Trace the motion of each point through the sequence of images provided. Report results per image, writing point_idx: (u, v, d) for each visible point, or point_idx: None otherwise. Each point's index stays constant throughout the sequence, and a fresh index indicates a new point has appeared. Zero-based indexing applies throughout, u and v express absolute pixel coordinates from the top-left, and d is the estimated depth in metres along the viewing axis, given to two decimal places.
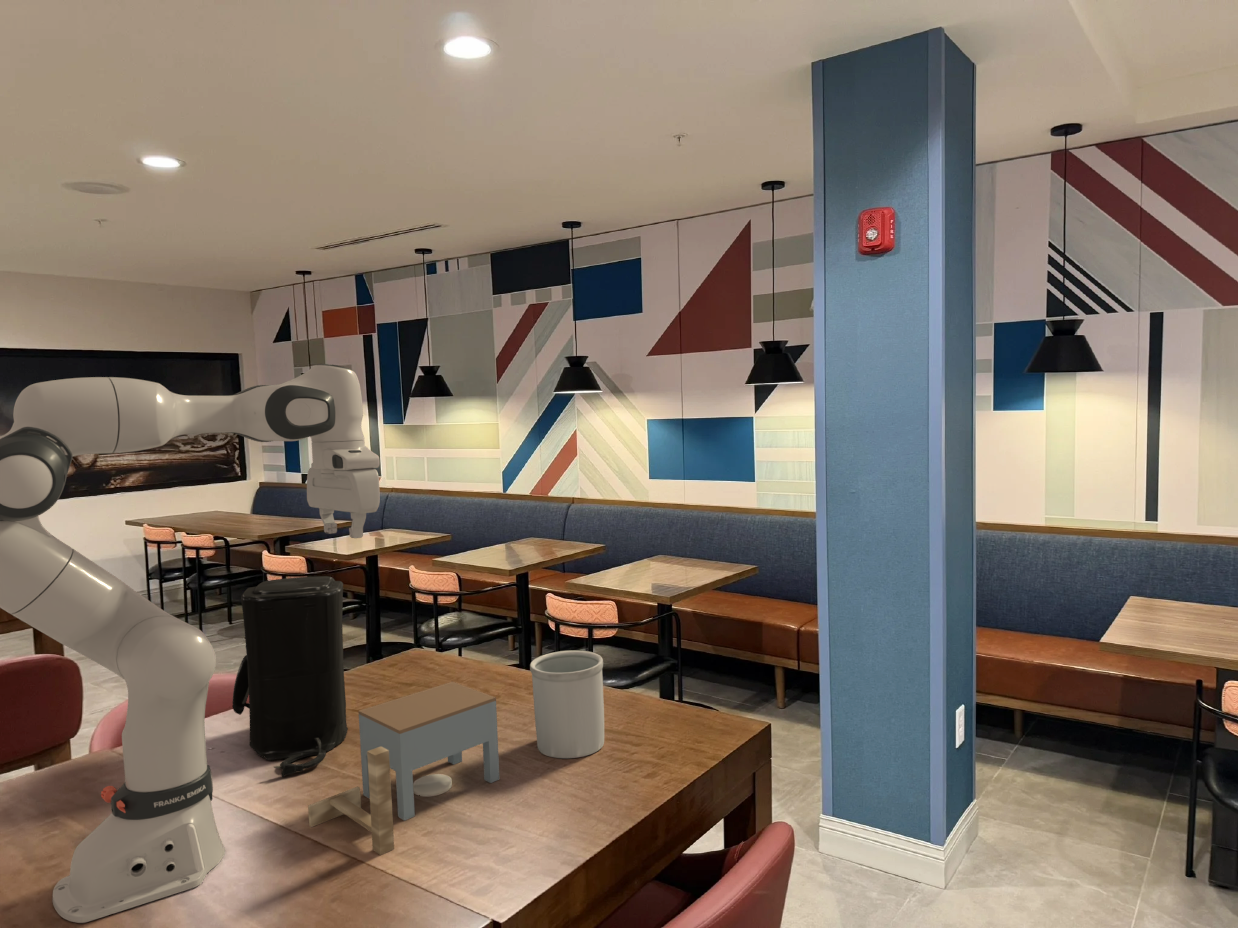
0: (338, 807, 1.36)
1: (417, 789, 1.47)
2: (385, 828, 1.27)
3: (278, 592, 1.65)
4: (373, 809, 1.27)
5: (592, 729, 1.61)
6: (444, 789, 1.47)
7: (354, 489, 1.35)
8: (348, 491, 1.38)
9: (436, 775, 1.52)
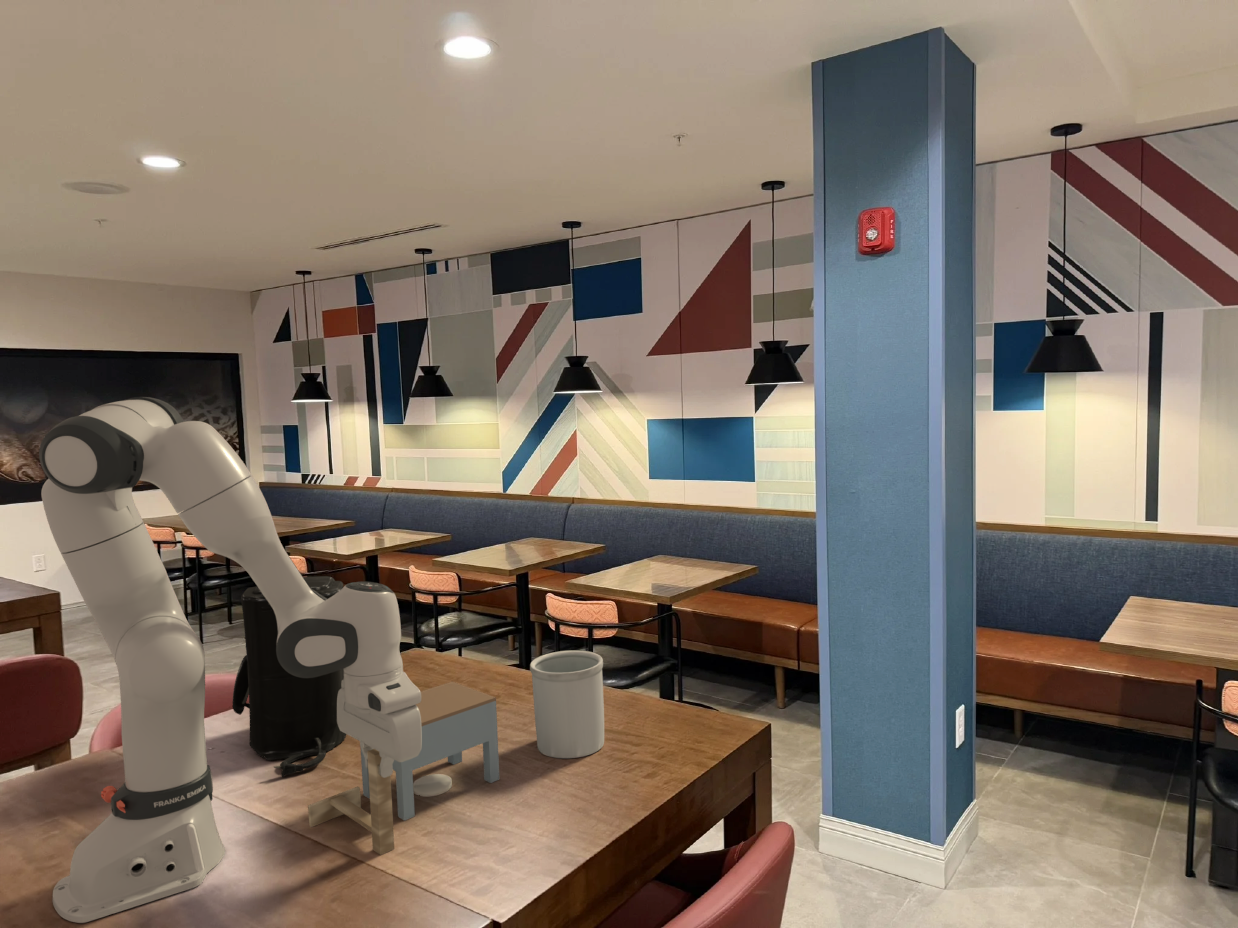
0: (338, 807, 1.36)
1: (417, 789, 1.47)
2: (385, 828, 1.27)
3: None
4: (373, 809, 1.27)
5: (592, 729, 1.61)
6: (444, 788, 1.47)
7: (394, 736, 1.19)
8: (386, 734, 1.21)
9: (436, 775, 1.52)
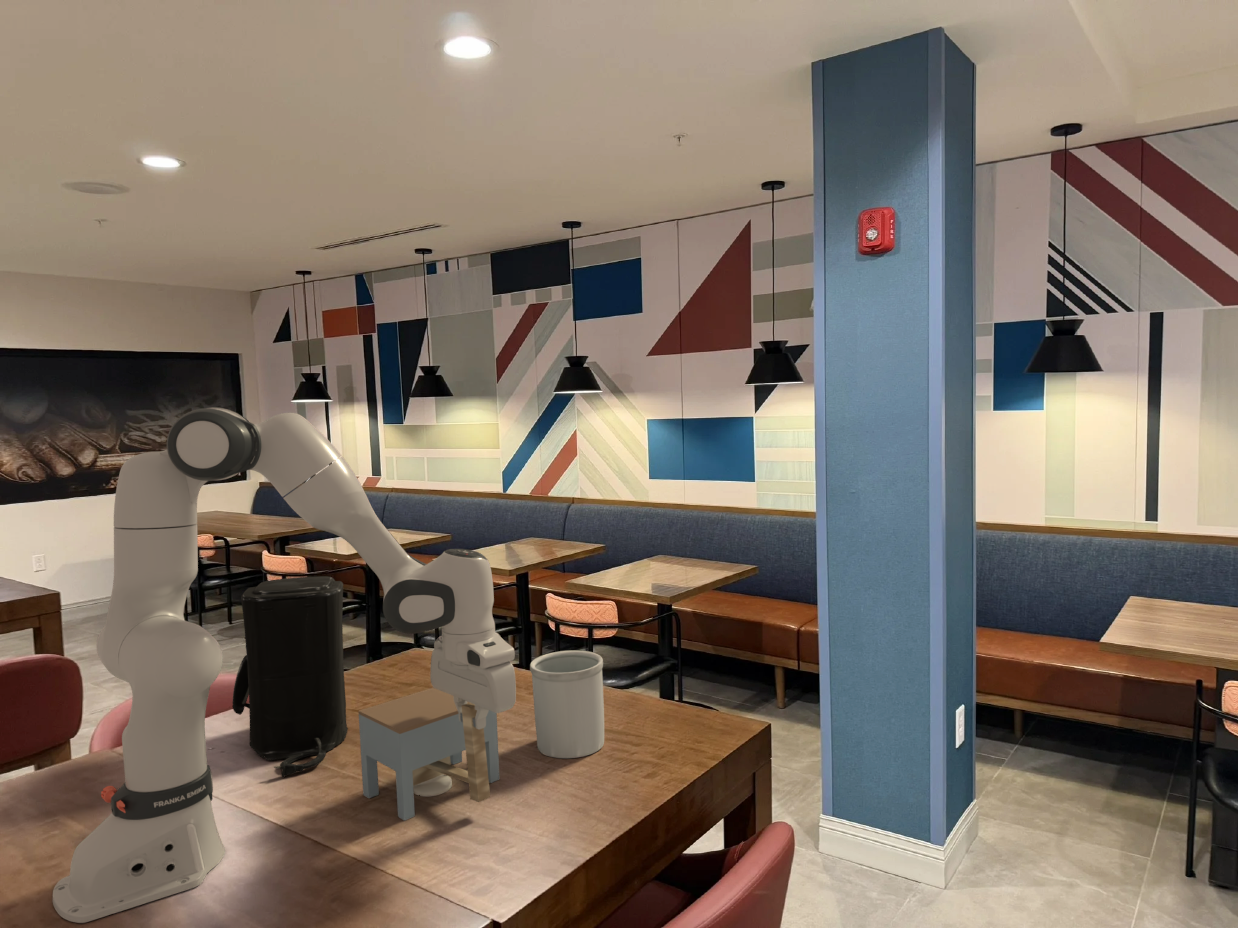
0: (433, 767, 1.47)
1: (417, 789, 1.47)
2: (481, 776, 1.37)
3: (278, 592, 1.65)
4: (469, 759, 1.38)
5: (592, 729, 1.61)
6: (444, 788, 1.47)
7: (492, 689, 1.30)
8: (483, 687, 1.32)
9: None
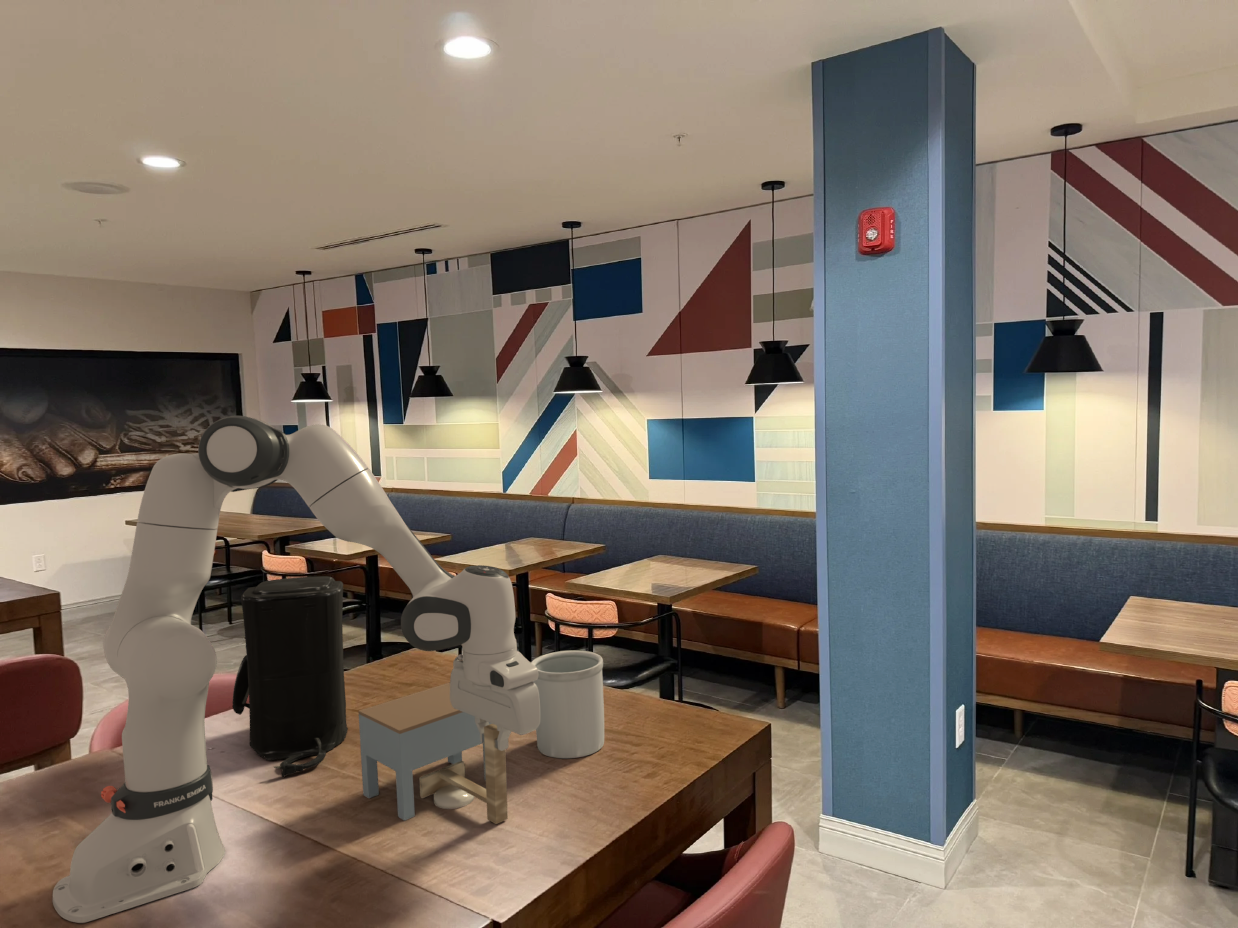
0: (448, 779, 1.44)
1: (439, 800, 1.42)
2: (500, 798, 1.35)
3: (278, 592, 1.65)
4: (489, 781, 1.35)
5: (592, 729, 1.61)
6: (467, 799, 1.42)
7: (516, 710, 1.26)
8: (507, 708, 1.29)
9: None
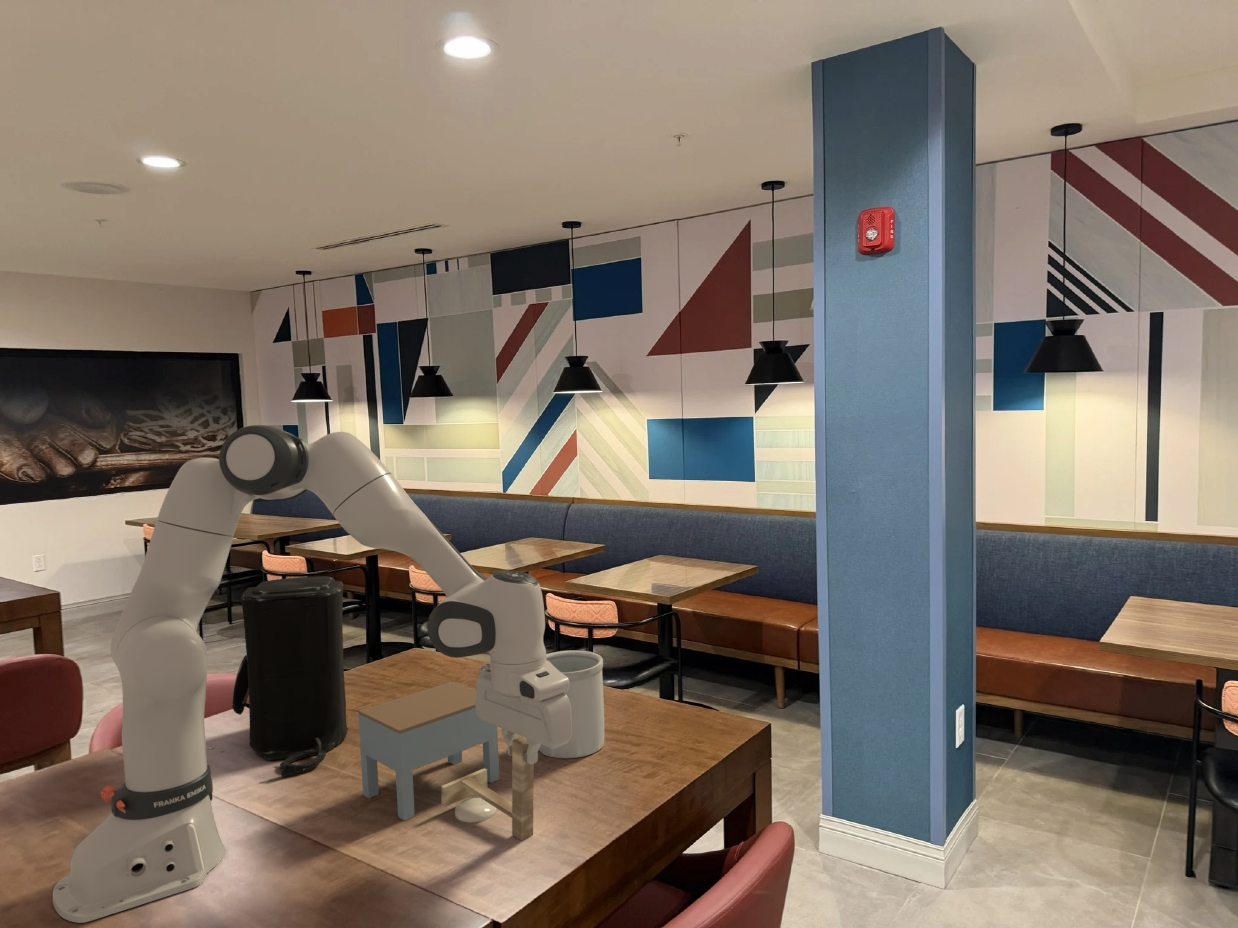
0: (471, 789, 1.39)
1: (460, 814, 1.37)
2: (527, 814, 1.30)
3: (278, 592, 1.65)
4: (515, 796, 1.30)
5: (592, 729, 1.61)
6: (488, 814, 1.37)
7: (547, 723, 1.21)
8: (537, 721, 1.23)
9: (480, 799, 1.42)
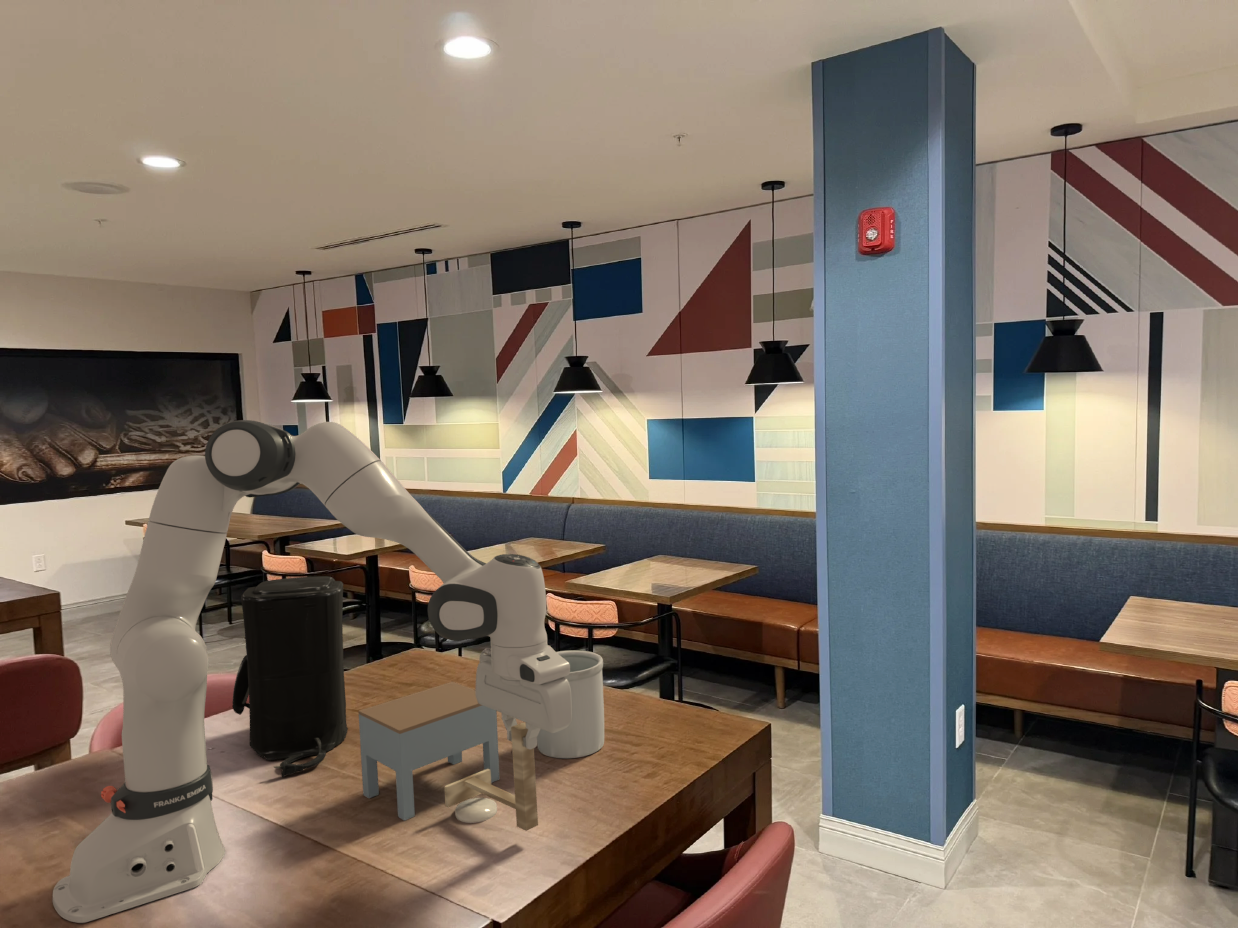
0: (474, 787, 1.37)
1: (460, 814, 1.37)
2: (530, 803, 1.28)
3: (278, 592, 1.65)
4: (517, 785, 1.28)
5: (592, 729, 1.61)
6: (489, 815, 1.37)
7: (547, 706, 1.20)
8: (537, 705, 1.22)
9: (480, 799, 1.42)
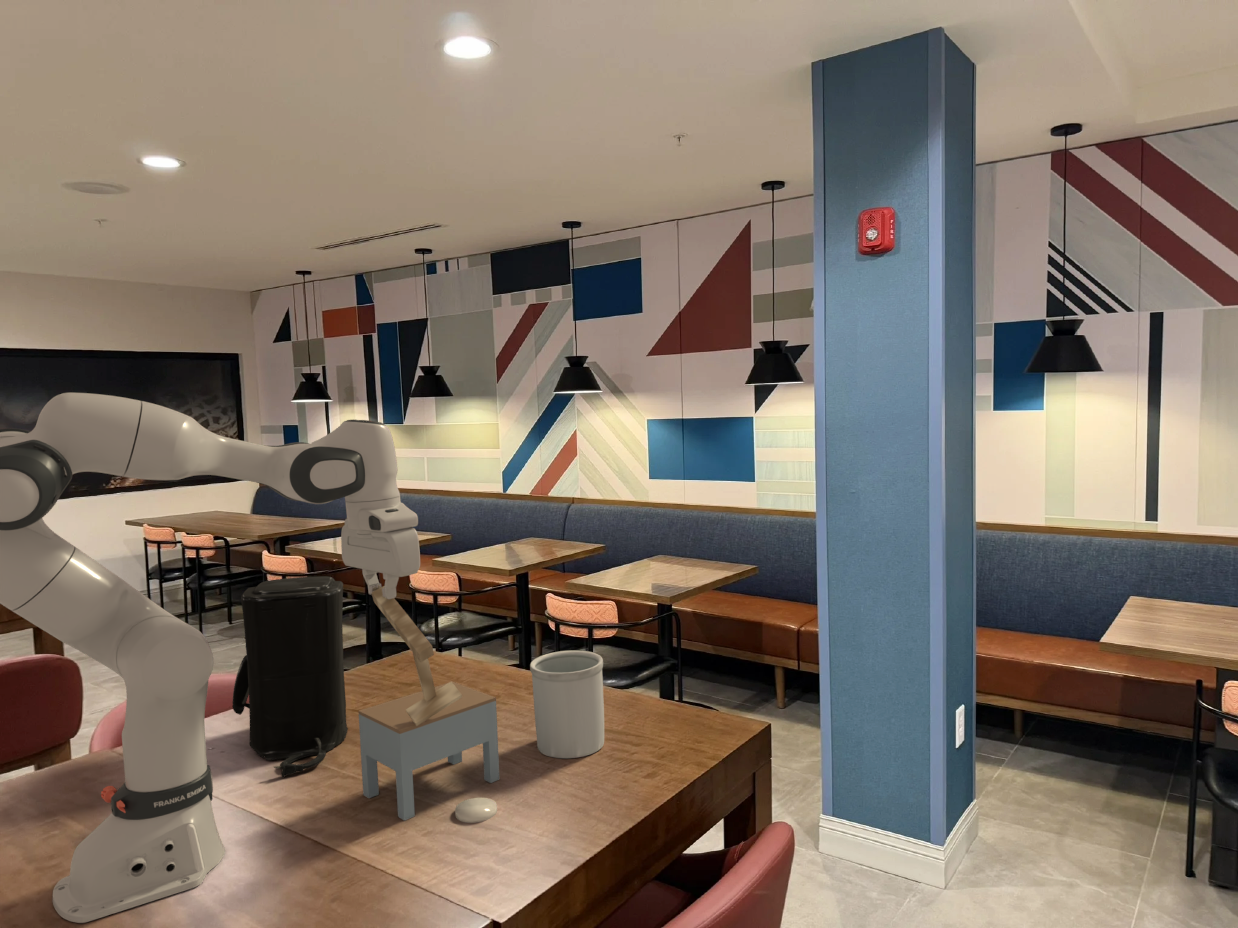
0: (422, 690, 1.39)
1: (461, 814, 1.37)
2: (412, 634, 1.31)
3: (278, 592, 1.65)
4: (399, 632, 1.33)
5: (592, 729, 1.61)
6: (490, 814, 1.37)
7: (394, 552, 1.29)
8: (387, 553, 1.31)
9: (479, 799, 1.42)
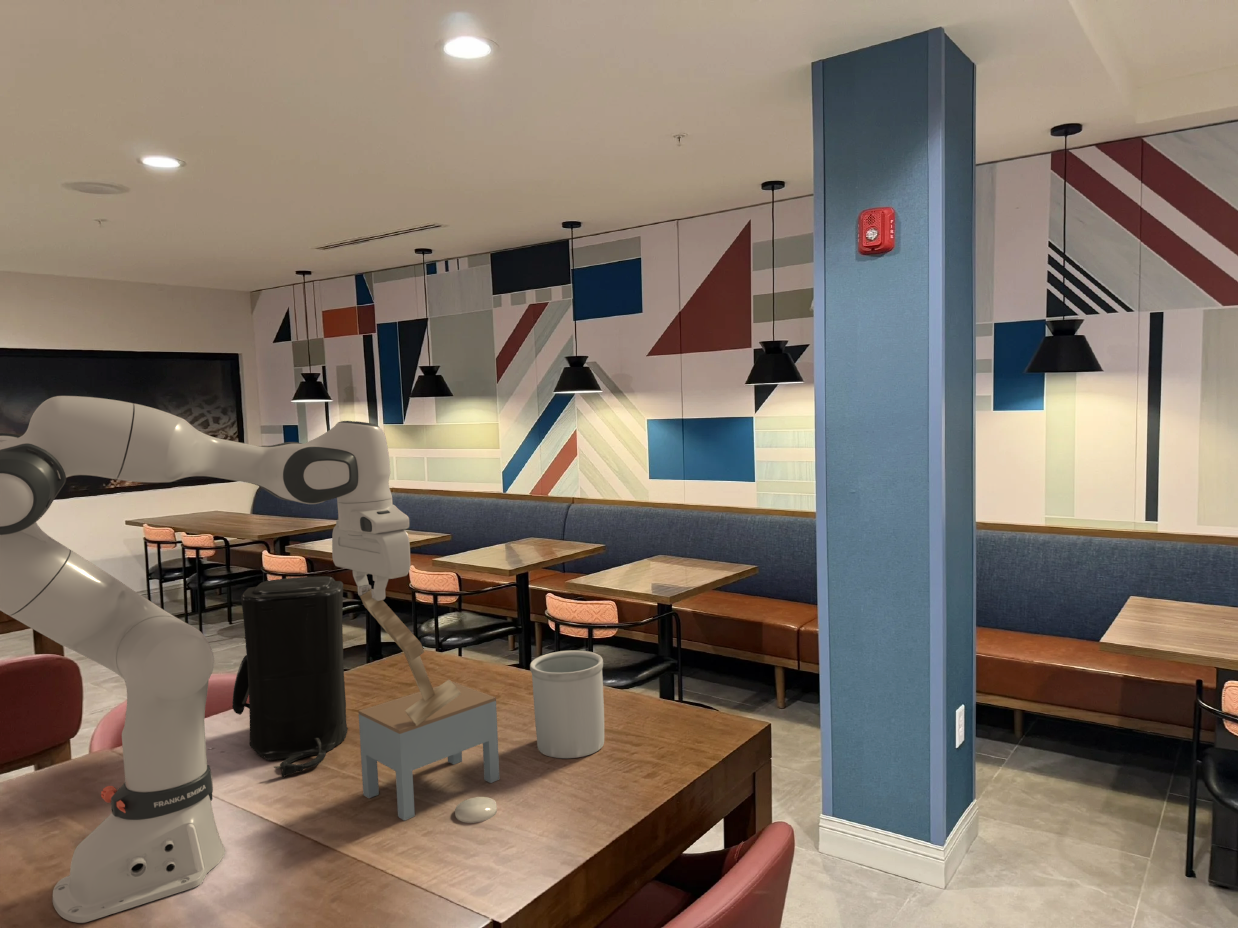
0: (419, 689, 1.39)
1: (462, 815, 1.37)
2: (401, 633, 1.31)
3: (278, 592, 1.65)
4: (389, 633, 1.33)
5: (592, 729, 1.61)
6: (491, 812, 1.37)
7: (384, 553, 1.29)
8: (377, 555, 1.32)
9: (477, 798, 1.42)
